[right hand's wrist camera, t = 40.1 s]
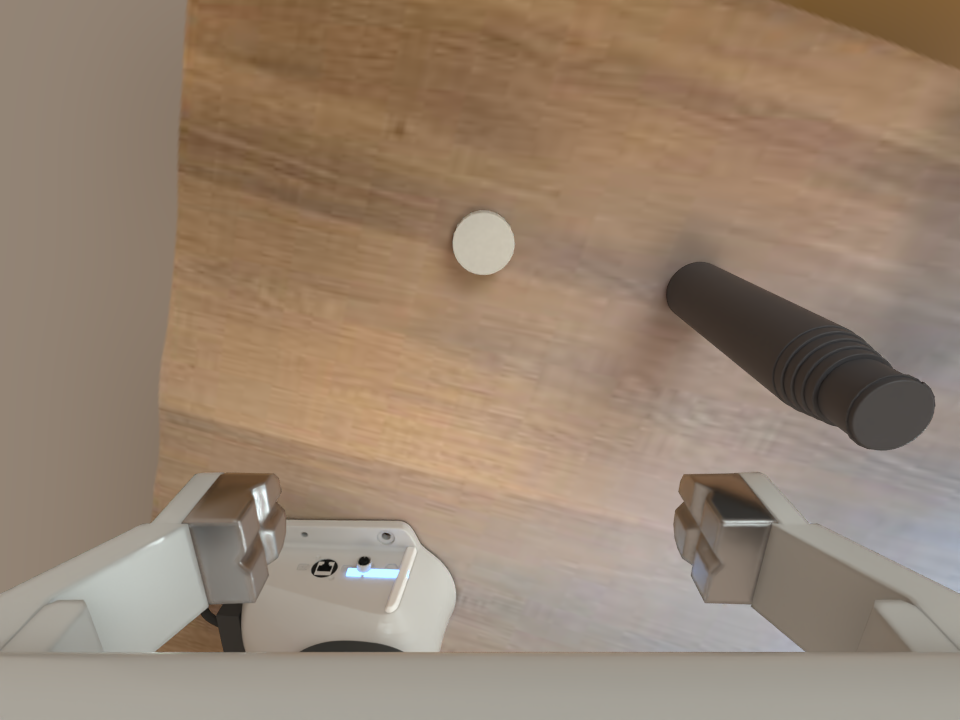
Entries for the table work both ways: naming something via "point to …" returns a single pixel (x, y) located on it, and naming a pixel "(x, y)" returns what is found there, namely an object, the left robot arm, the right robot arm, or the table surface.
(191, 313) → the table surface
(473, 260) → the cap
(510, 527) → the table surface
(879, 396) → the bottle
